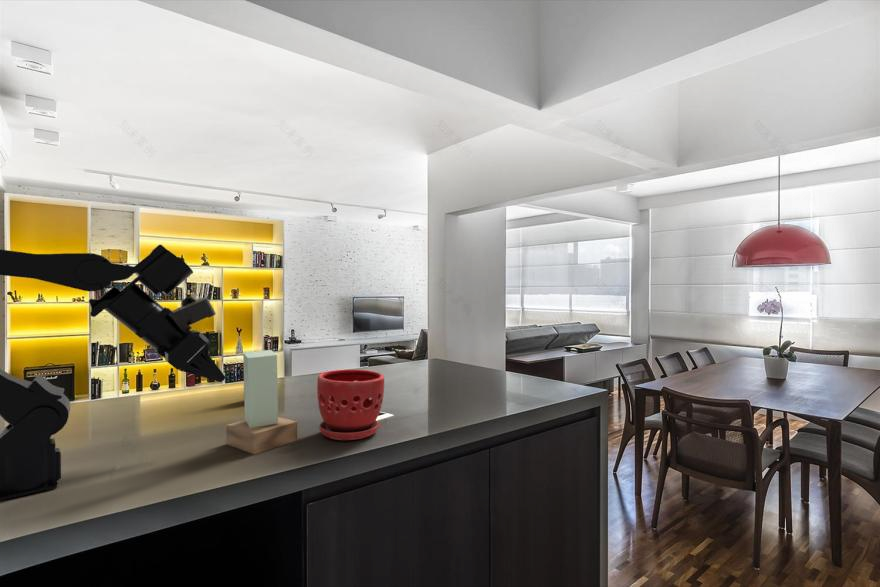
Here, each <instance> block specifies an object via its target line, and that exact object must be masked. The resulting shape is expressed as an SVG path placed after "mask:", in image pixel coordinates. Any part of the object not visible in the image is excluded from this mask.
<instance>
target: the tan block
mask: <svg viewBox="0 0 880 587" xmlns="http://www.w3.org/2000/svg"><path fill="white" fill-rule="evenodd" d="M225 429H226V431H225V432H226V434H225V436H226V442H225V444H226V445H227V446H229V447H233V448H235V449H238V450H241V451H243V452H247V453H249V454H253V455H257V454H260V453H263V452H266V451H269V450H273V449H275V448H278V447H282V446H285V445H287V444H291V443H294V442H297V441H298V421H296V420H293V419H290V418H289V419H288V418H284V417H281V416H278V423H277V424H271V425H266V426H260V427H255V428H249V426H248V424H247V422H246V421H245V419H244V420H240V421H237V422H232V423H228V424H226V428H225Z"/></svg>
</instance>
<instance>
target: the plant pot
mask: <svg viewBox="0 0 880 587" xmlns="http://www.w3.org/2000/svg"><path fill="white" fill-rule="evenodd" d="M316 389H317V401H318V409H319V413H320V416H321V419H322V420H323V421H322V422H321V423H319V427H318V428H319V431H320V432H321V434H322V435H323V436H325V437H326V438H330V439H332V440H336V441H338V440H339V441H355V440H361V439H365V438H367V437H368V438H369V437H370V436H372V435H373V434H375V433H376V431H377V430H378V429H379V427H380V426H379V421H376V419H377V417H378V415H379V412H381V409H382V405H383V401H384V400H383V399H384V393H385V376H384V374H382V372H378V371H374V370H365V369H336V370H329V371H328V370H327V371H324V372H321V373H320V374H318V376H317V386H316Z"/></svg>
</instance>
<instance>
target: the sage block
mask: <svg viewBox="0 0 880 587" xmlns="http://www.w3.org/2000/svg"><path fill="white" fill-rule="evenodd" d="M242 357H243V400H244V399H245V402H244V420H245V421H246V422H247V424H248V426H249V428H255V427H260V426H266V425H271V424H277V423H278V417H279V402H278V401H279V400H278V399H279V397H278V396H279V394H278V393H279V392H278V391H279V389H278V355H277V353H275V352H274V351H273V350H272V349H266V350H257V351H248V352H247V351H246V352H245V351H244V352H243V354H242Z"/></svg>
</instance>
